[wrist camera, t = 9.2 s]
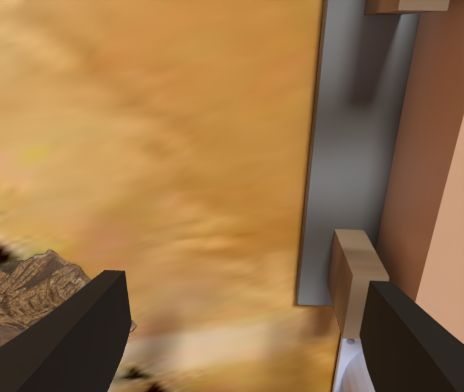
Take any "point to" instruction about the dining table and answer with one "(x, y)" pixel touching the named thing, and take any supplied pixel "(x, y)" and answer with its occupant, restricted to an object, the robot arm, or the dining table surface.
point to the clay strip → (430, 175)
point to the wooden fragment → (35, 291)
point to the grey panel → (354, 149)
